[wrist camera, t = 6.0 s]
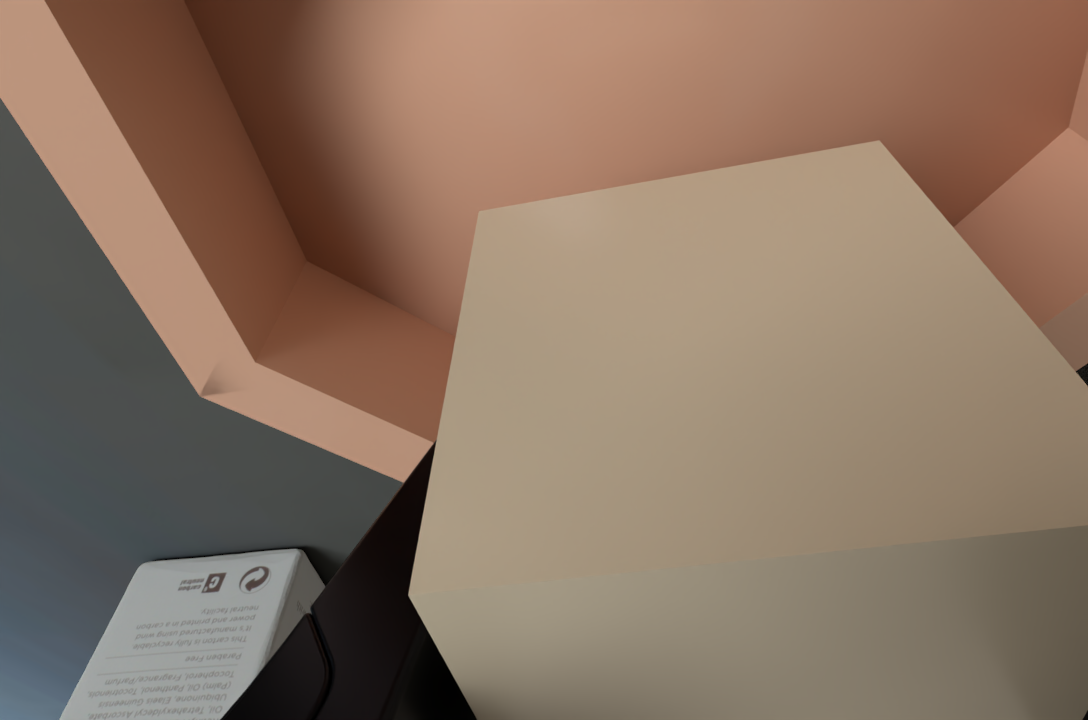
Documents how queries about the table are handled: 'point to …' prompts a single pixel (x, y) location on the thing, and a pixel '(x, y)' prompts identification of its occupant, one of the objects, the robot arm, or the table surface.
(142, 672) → the skincare box
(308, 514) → the table surface
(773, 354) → the cream cube
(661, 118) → the terracotta dish
